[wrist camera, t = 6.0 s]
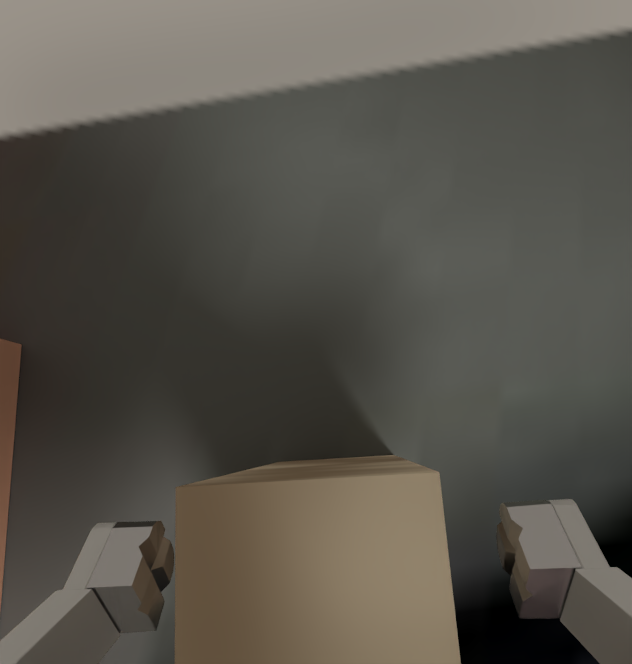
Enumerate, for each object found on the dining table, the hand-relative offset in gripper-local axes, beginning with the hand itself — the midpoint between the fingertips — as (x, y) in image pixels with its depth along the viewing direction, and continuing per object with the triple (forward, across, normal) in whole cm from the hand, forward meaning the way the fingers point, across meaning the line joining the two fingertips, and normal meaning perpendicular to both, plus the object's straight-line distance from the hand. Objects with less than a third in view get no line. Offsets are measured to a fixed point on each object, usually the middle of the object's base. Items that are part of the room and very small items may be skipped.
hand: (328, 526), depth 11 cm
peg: (+3, 0, +4) cm, 5 cm away
